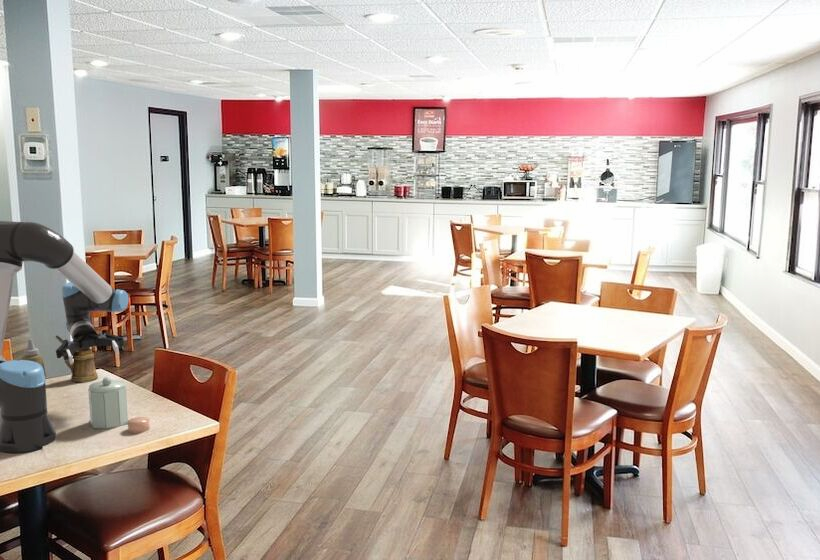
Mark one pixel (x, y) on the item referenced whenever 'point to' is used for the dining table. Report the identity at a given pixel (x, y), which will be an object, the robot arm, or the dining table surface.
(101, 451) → the dining table surface
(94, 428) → the mat
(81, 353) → the wooden mug
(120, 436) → the dining table surface
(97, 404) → the lidded canister jar
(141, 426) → the light brown short cylinder
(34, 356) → the squeeze bottle
